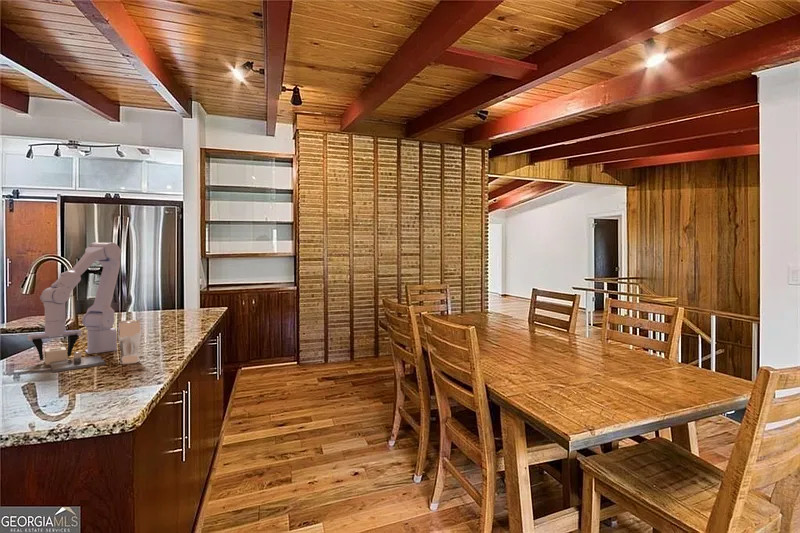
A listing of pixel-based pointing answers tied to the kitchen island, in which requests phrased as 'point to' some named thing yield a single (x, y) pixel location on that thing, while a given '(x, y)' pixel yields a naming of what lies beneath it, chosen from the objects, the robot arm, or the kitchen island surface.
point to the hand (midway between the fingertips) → (55, 357)
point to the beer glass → (129, 341)
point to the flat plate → (76, 363)
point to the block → (55, 354)
